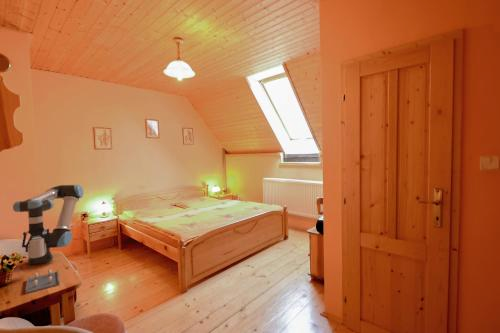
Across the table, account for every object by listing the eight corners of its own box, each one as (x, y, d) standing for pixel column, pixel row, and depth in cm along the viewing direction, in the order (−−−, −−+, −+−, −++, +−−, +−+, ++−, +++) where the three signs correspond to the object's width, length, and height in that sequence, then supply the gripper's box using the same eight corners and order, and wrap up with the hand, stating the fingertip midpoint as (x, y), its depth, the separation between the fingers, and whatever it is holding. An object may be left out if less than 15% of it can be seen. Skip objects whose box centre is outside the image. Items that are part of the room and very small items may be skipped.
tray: (27, 280, 163) (27, 272, 163) (58, 272, 173) (57, 265, 173) (25, 294, 146) (25, 285, 146) (59, 284, 156) (59, 277, 156)
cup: (47, 254, 173) (46, 237, 172) (33, 258, 165) (32, 241, 165) (41, 252, 176) (40, 236, 176) (27, 256, 169) (26, 239, 168)
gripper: (14, 226, 160) (16, 260, 161) (55, 220, 173) (56, 252, 174) (15, 224, 166) (17, 256, 167) (55, 218, 179) (56, 249, 180)
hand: (37, 254), depth 171 cm, fingers closed on cup, 8 cm apart
